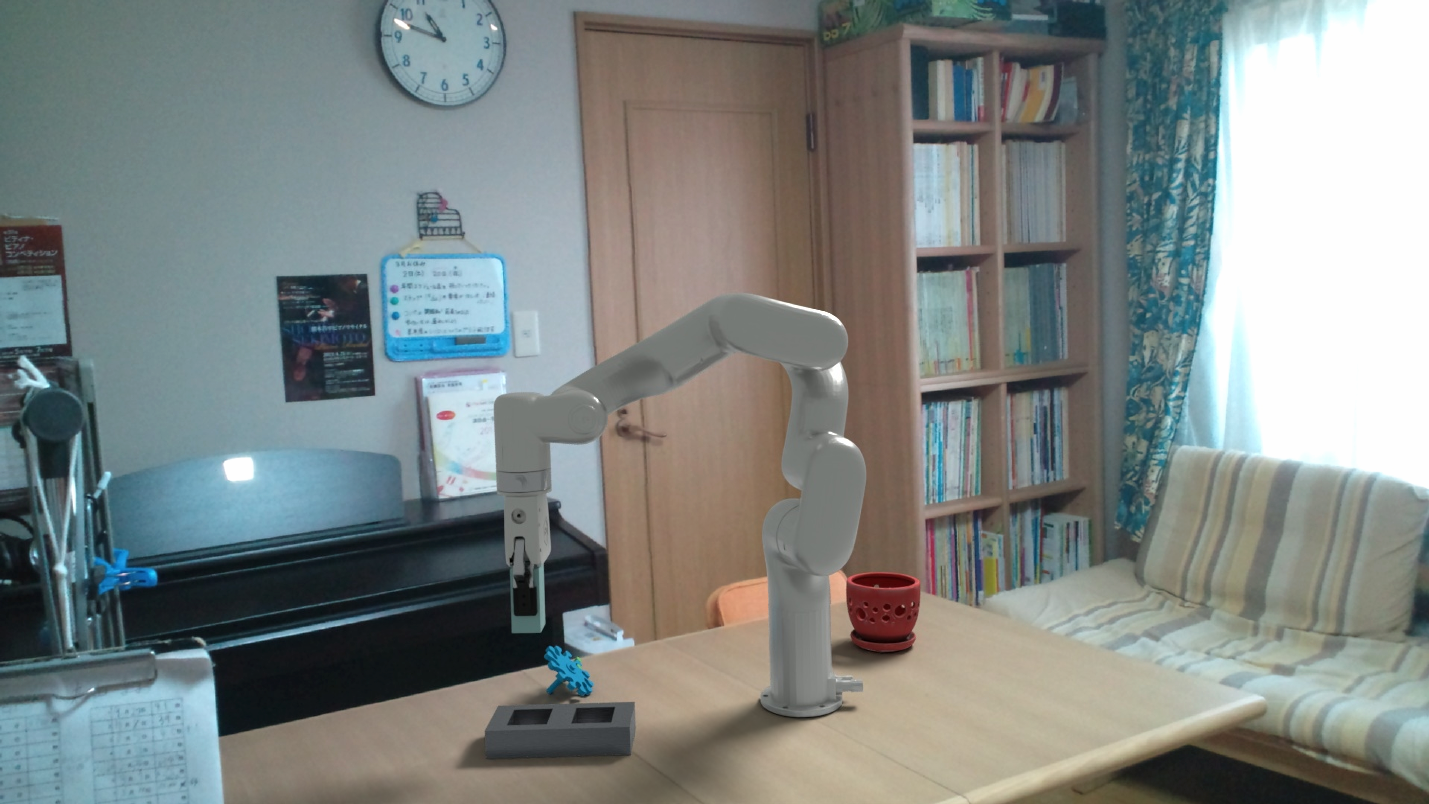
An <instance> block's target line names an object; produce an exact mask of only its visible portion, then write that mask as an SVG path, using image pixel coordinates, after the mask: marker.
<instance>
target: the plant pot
mask: <svg viewBox="0 0 1429 804" xmlns="http://www.w3.org/2000/svg"><path fill="white" fill-rule="evenodd" d="M845 585H846V586H845V598H846V599H845V600H846V606H847V613H848V618H849V621H850V623H851V625H852V627H853V629H852V630H851V631H850V635H849V636H850V639H851V641H852V642H853V643H854V644H855V645H856V646H858V647H859V648H861V649H865V650H867V651H871V652H877V653H880V654H881V653H889V652H890V653H891V652H897V651H903V650H906V649H909V648H910V647H911V646H912V645H913V644H915V641H916V639H917V636H916V633H915V632H914V631H913V630H914V628H915V626H916V623H917V621H918V617H919V614H920V613H919V612H920V608H921V607H920V606H921V590H922V589H921V585H922V584H921V581H920V580H919V579H918V578H916V577H914V576H911V575H908V574H903V573H896V572H882V571H881V572H877V571H876V572H874V571H873V572H865V573H858V574H854V575H851V576H849V577H847V579H846V583H845ZM875 586H878V587H875Z"/></svg>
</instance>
